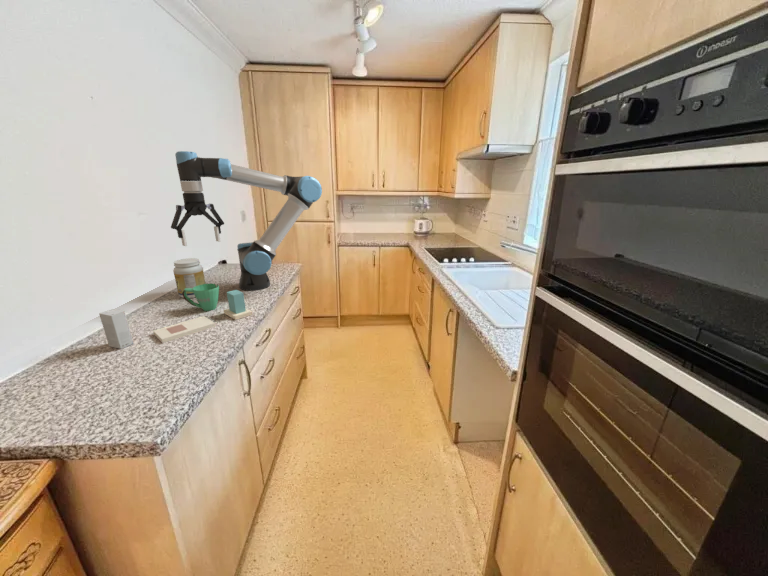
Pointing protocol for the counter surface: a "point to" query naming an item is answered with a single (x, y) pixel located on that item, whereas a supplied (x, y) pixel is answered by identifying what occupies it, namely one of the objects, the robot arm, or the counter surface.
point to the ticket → (184, 328)
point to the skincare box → (116, 328)
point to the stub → (236, 305)
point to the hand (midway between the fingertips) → (202, 243)
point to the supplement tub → (188, 275)
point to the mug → (203, 296)
